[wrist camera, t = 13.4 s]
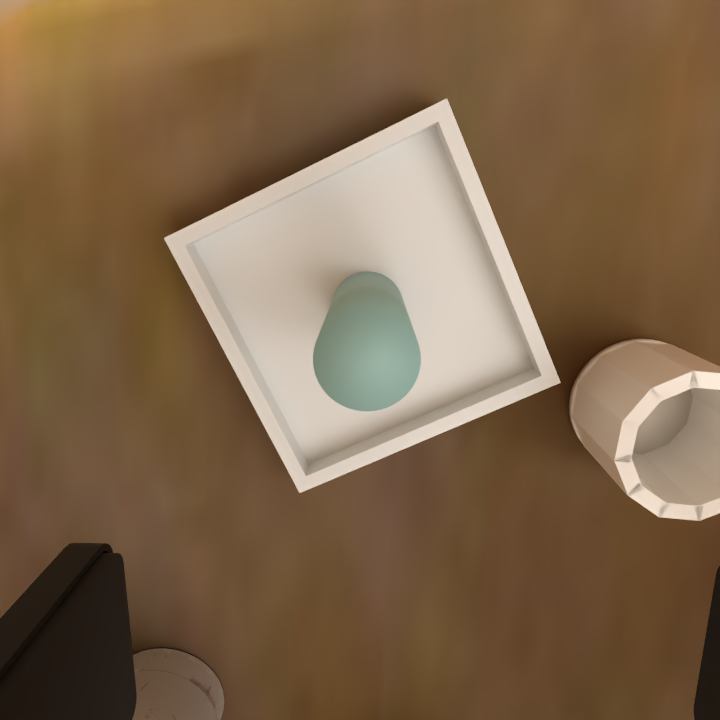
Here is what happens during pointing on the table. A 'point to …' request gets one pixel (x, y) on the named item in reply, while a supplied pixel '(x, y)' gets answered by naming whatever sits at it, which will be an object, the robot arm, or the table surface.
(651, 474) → the cup
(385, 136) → the tray
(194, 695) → the thermos bottle
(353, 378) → the peg
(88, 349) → the table surface
